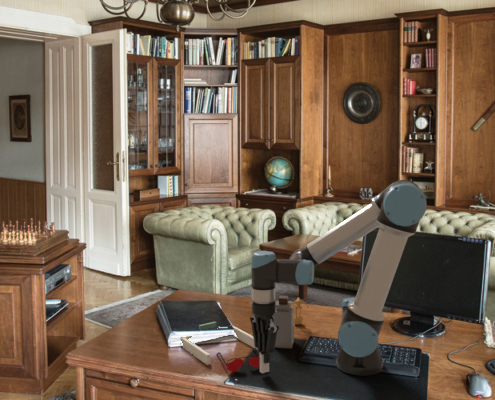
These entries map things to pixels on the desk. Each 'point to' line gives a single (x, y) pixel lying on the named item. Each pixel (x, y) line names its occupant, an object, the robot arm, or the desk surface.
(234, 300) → the desk surface
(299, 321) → the figurine
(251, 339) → the display cradle
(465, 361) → the desk surface
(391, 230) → the robot arm
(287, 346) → the perfume bottle
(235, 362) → the glasses
